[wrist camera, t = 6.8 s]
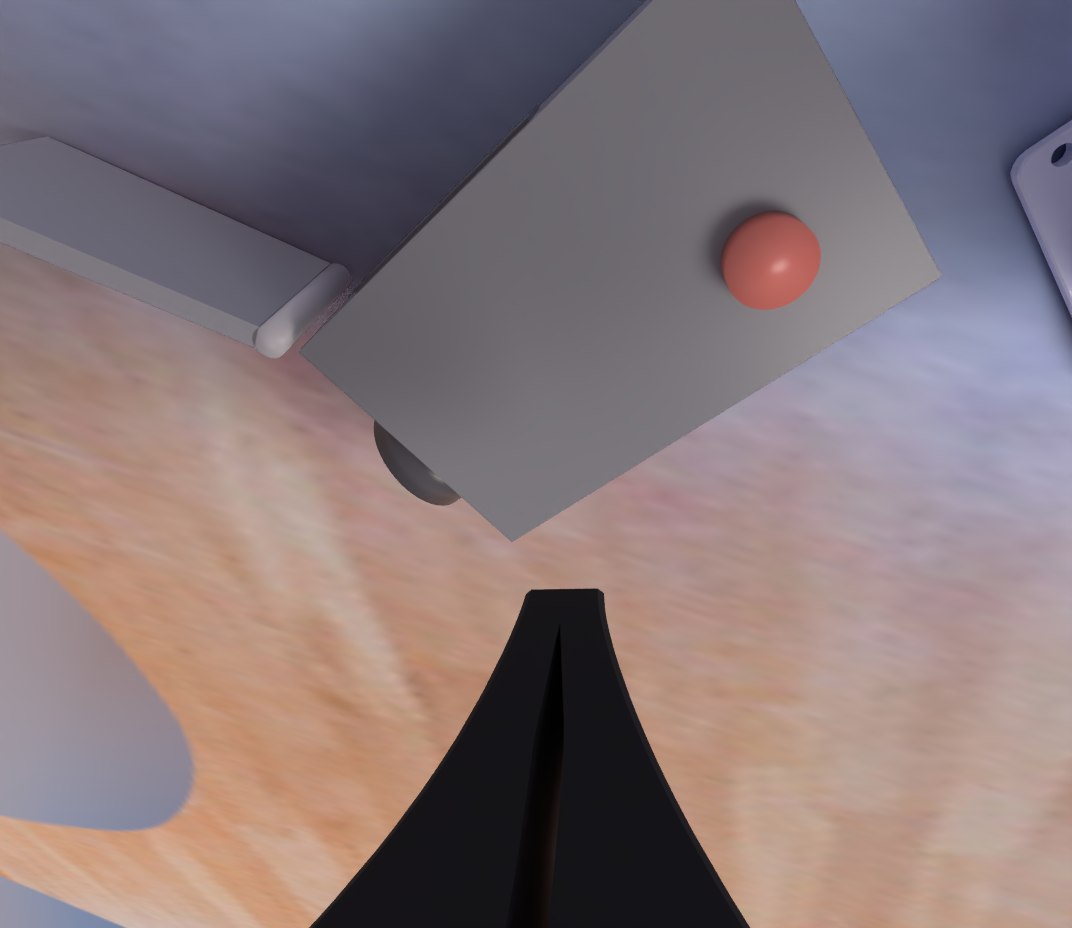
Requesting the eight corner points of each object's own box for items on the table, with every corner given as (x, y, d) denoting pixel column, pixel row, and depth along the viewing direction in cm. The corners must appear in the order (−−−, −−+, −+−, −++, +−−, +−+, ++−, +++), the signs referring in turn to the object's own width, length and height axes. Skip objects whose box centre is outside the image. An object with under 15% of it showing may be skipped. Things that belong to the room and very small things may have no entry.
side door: (48, 175, 18) (-108, 217, 14) (47, 132, 17) (-118, 163, 13) (344, 305, 19) (279, 376, 15) (354, 270, 19) (289, 335, 15)
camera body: (701, -61, 14) (751, -103, 9) (859, 216, 17) (956, 286, 12) (329, 311, 20) (248, 397, 15) (495, 468, 23) (470, 580, 18)
